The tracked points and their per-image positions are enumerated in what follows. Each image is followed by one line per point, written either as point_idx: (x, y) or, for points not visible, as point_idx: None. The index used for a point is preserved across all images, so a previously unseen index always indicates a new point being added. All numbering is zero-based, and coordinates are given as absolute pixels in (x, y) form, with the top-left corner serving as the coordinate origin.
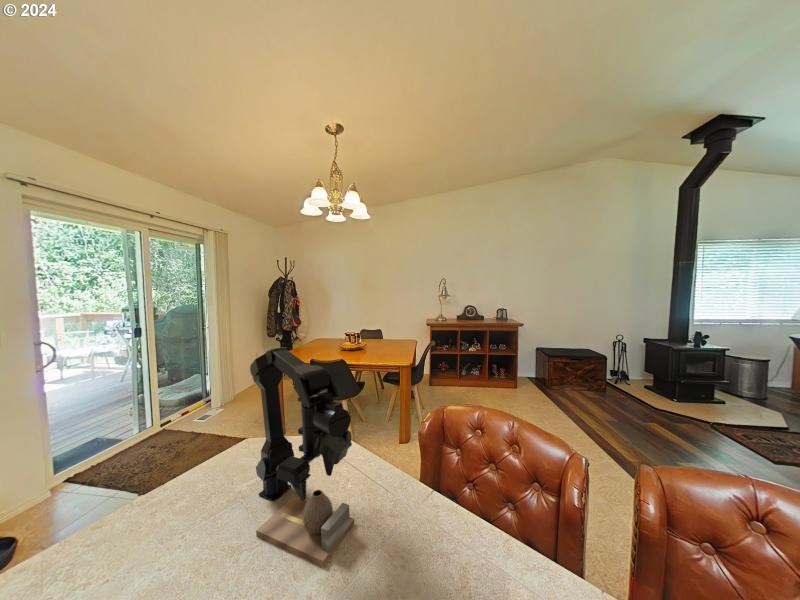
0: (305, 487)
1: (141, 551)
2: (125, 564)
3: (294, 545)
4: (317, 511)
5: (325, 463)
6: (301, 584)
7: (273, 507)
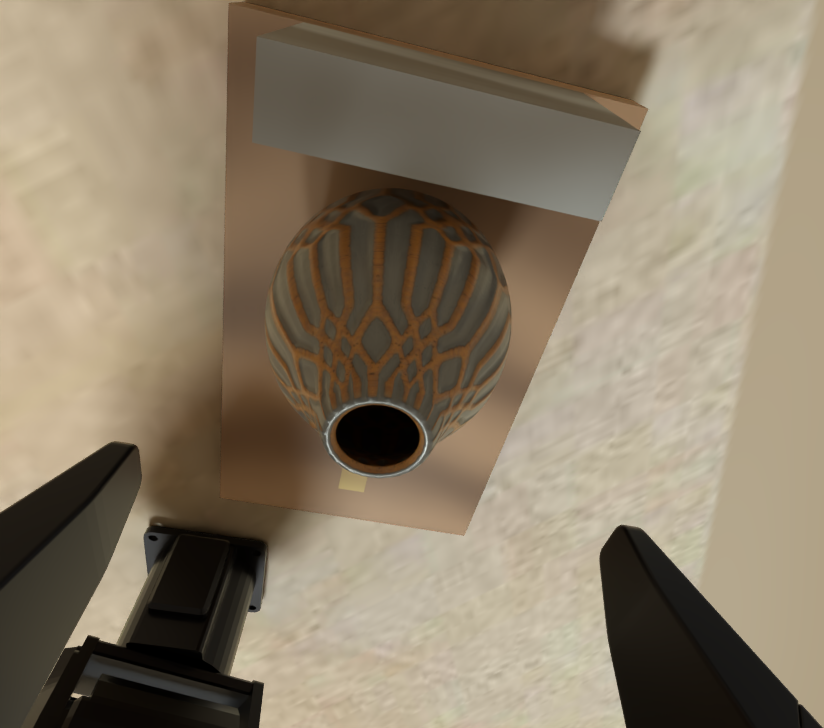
0: (753, 708)
1: (553, 713)
2: (594, 715)
3: (536, 343)
4: (484, 331)
5: (46, 650)
6: (727, 188)
7: (296, 530)
